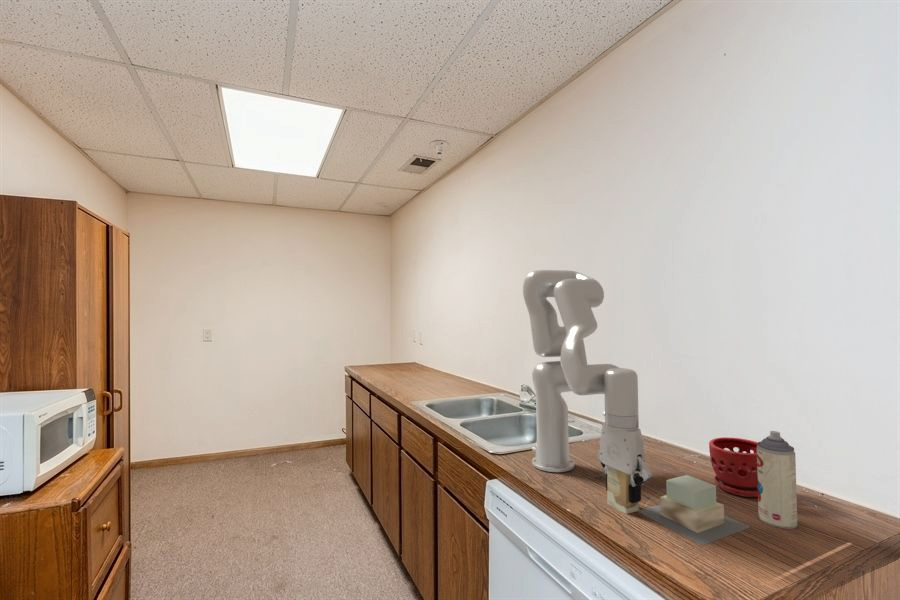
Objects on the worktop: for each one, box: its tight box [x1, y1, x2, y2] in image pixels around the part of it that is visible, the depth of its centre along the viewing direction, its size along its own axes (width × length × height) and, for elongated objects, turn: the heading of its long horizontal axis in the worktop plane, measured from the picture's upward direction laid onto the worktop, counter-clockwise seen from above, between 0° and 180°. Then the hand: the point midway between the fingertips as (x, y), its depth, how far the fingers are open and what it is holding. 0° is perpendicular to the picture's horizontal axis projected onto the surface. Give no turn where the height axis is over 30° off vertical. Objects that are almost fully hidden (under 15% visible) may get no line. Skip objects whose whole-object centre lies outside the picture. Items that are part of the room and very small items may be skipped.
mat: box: [636, 503, 751, 546], centre depth 95 cm, size 16×16×1 cm
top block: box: [665, 474, 717, 511], centre depth 95 cm, size 7×7×4 cm
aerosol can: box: [757, 430, 798, 530], centre depth 94 cm, size 7×7×20 cm
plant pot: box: [708, 437, 759, 498], centre depth 111 cm, size 13×13×12 cm
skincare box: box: [606, 466, 640, 515], centre depth 102 cm, size 6×4×12 cm
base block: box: [659, 494, 725, 533], centre depth 95 cm, size 9×9×4 cm
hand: (623, 495), depth 101 cm, fingers closed on skincare box, 6 cm apart
